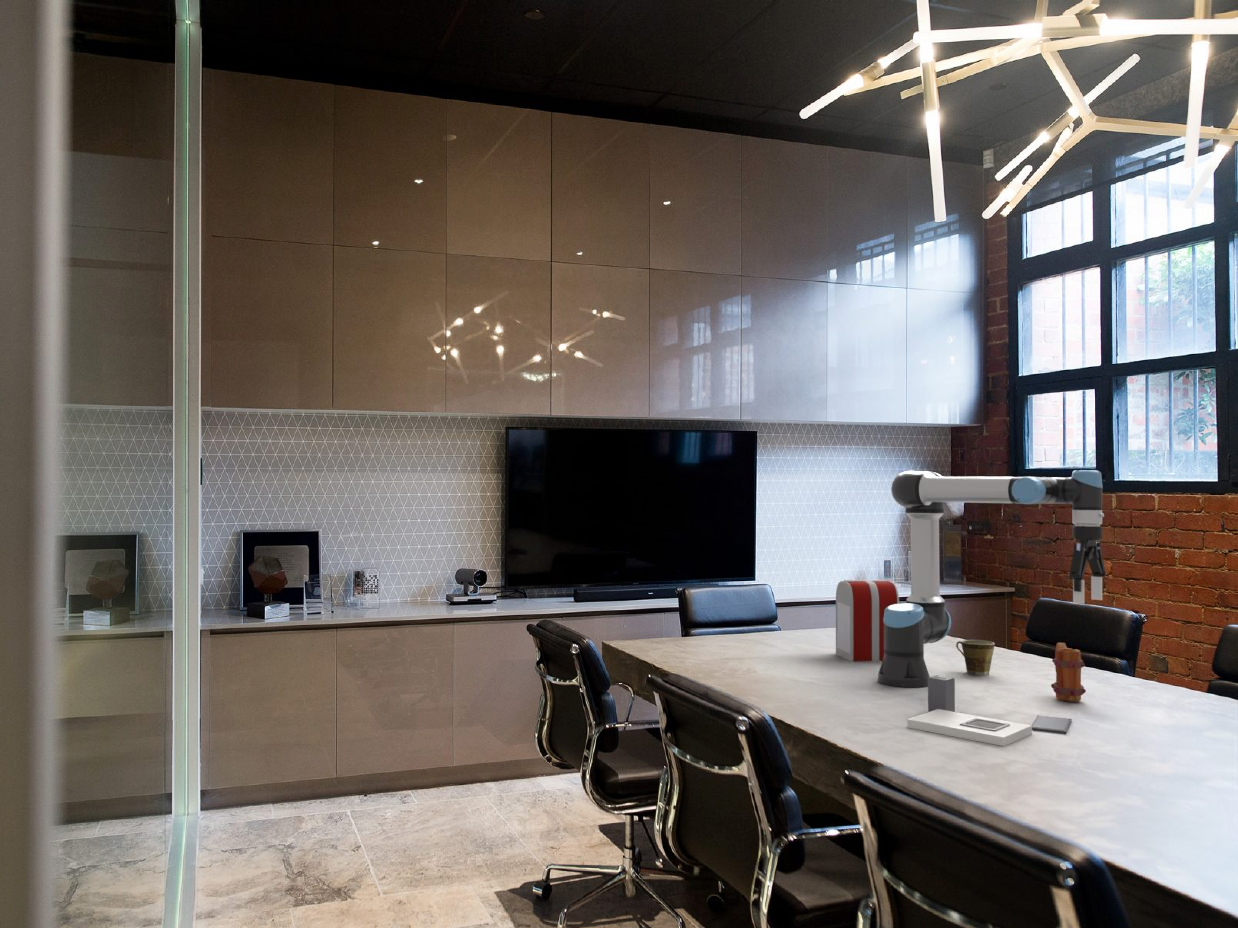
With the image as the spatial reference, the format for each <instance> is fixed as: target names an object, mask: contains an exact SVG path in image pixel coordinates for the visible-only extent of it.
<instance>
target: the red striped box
mask: <svg viewBox="0 0 1238 928" xmlns="http://www.w3.org/2000/svg"><path fill="white" fill-rule="evenodd" d="M899 596H900V595H899V591H898V587H897V585H896V584H895V583H894V582H892V581H890V580H889V579H846V580H845V579H844V580H840V581H839V582H838V584H837V585H836V593H835V654H836V655H837V656H839V657H842V658H843V659H845V660H846V661H849V662H855V663H856V662H882V661H883V658H884V622H883V618H884V611H885V609H886V608H887V607H888V606H890V605H894V604H900V597H899Z"/></svg>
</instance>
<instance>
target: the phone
mask: <svg viewBox="0 0 1238 928" xmlns="http://www.w3.org/2000/svg"><path fill="white" fill-rule="evenodd" d="M1072 722H1073V721H1072V718H1066V717H1058V716H1057V717H1056V716H1048V715H1037V716H1036V717H1035V719H1034V720H1033V722H1032V724H1030V725H1031V726H1032V731H1035V732H1036V731H1037V732H1043V733H1044V732H1045V733H1052V734H1054V733H1055V734H1061V735H1067V733H1068V732H1069V728H1070V726H1071V725H1072V724H1071V723H1072Z"/></svg>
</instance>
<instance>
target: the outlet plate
mask: <svg viewBox="0 0 1238 928" xmlns="http://www.w3.org/2000/svg"><path fill="white" fill-rule="evenodd" d="M906 720H907V721H906V722H907V725H906V726H907V728H909V729H914V730H920V731H925V732H930V733H933V734H934V733H935V734H939V735H944V736H949V737H955V738H959V739H966V740H970V741H974V742H981V743H986V744H991V745H995V746H996V745H997V746H1001V747H1006V746H1008V745H1010V744H1012V743H1014V742H1016V741H1019V740H1021V739H1025V738H1027V737H1029V736H1030V735H1032V734H1033V730H1032V726H1031V725H1032V724H1026V723H1020V722H1019V723H1018V722H1015V721H1014V722H1013V721H1010V720H1009V721H1007V720H1003V719H997V718H991V717H987V716H986V717H985V716H979V715H975V714H974V715H973V714H969V713H964V712H963V713H962V712H957V711H955V712H952V711H947V710H941V709H936V710H933V711H930V712H928V711H927V712H924V713H922V714H919V715H916V716H913V717H910V718H907V719H906Z"/></svg>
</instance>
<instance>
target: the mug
mask: <svg viewBox="0 0 1238 928" xmlns="http://www.w3.org/2000/svg"><path fill="white" fill-rule="evenodd" d="M1054 652H1055V653H1054V655H1055V656H1054V658H1053V659H1051V660H1052V663H1053V664H1054V668H1055V677H1056V678H1055V682H1054V683H1051V684H1050V687H1051V688H1052V690H1053V692H1054V693H1055V699H1057V700H1058V701H1061V702H1068V703H1069V702H1070V703H1076V702H1080V701H1081V700H1082V696H1083V695H1084V694H1085V693H1086V692H1087V690H1086V688H1085V687H1084V686H1083V684H1082V668H1084V667H1086V664H1085V663H1084V660H1083V659H1082V655H1081V650H1080V649H1077V648H1076V649H1073V648H1071V647H1070V648H1069V647H1067V645H1066V643H1065V642H1057V643H1056V645H1055V650H1054Z"/></svg>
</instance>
